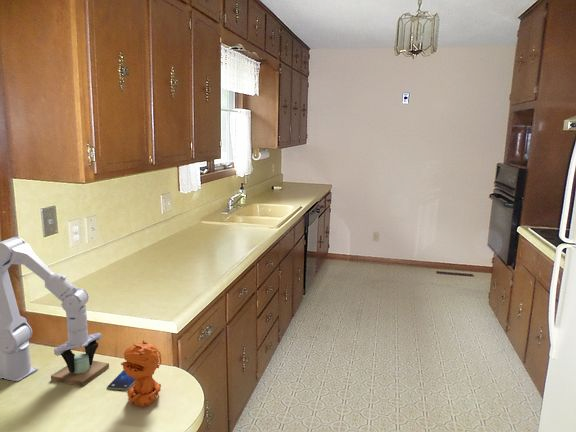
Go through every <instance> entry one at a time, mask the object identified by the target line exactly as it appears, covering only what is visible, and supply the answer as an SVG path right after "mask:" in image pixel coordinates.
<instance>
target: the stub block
mask: <svg viewBox="0 0 576 432" xmlns="http://www.w3.org/2000/svg"><path fill="white" fill-rule="evenodd" d="M109 368H110V363H108V362H104V361H97V360H93V362H92V365H90V369H89V370H87V371H86V372H83V373H79V374H77V373H71V372H70V371H69V369H68V366H67V365H66V366H65V367H64V366H63V368H61V369H59V370H57V372H54V373H53V374H51V375H50V380H51V381H54V382H59V383H64V384H70V385H75V386H80V387H84V386H85V385H87V384H89V383H90V382H91V381H93V380H94V379H96V378H97V377H98V376H99V375H101V374H102V373H104V372H106V370H108V369H109Z"/></svg>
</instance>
